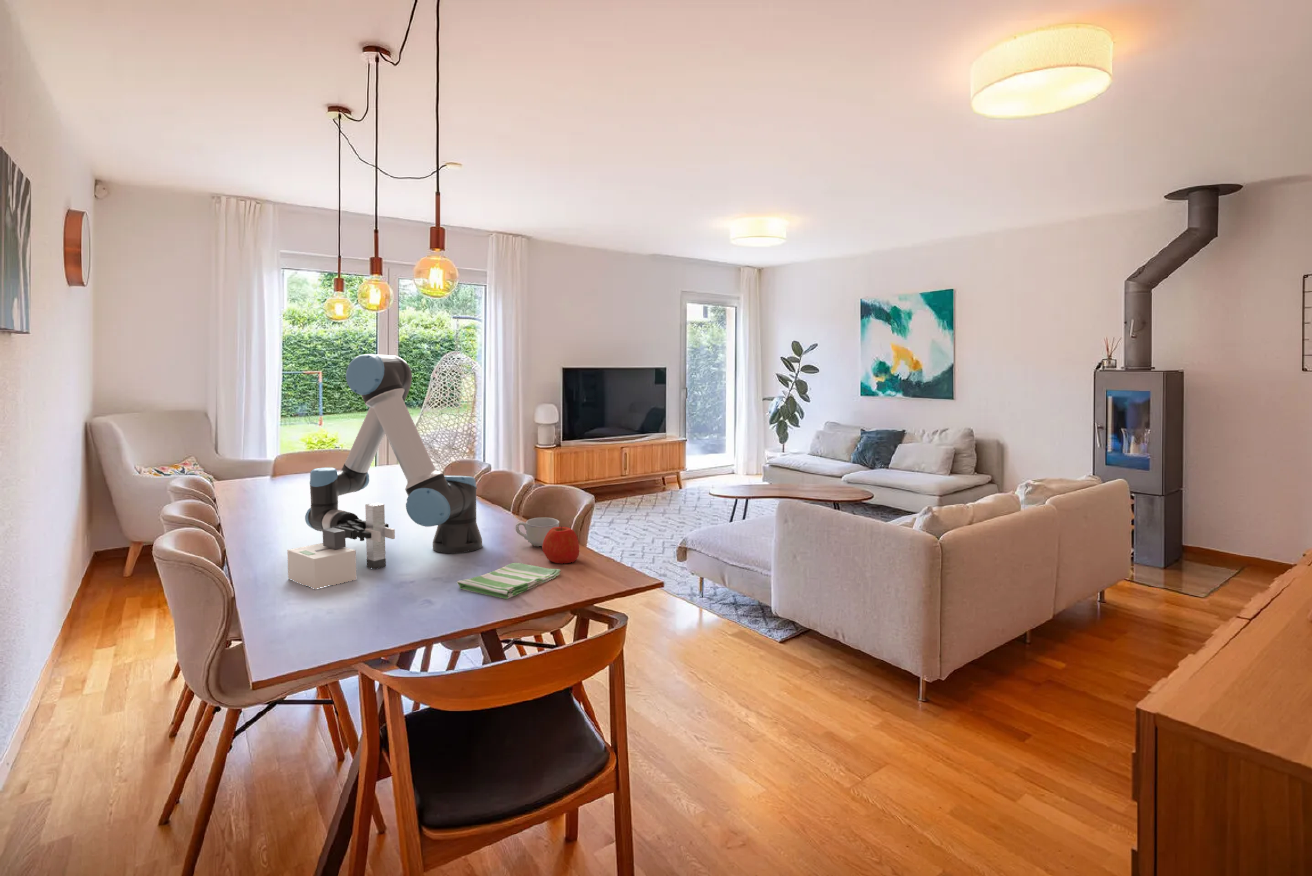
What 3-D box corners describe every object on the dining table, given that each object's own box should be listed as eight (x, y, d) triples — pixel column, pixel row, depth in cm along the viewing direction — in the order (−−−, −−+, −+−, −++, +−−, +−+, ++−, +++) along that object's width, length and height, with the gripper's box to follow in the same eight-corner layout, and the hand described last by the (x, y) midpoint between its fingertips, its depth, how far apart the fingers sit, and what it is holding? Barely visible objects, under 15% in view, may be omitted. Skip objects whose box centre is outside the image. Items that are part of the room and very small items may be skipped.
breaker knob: (333, 543, 185) (333, 527, 184) (345, 547, 181) (345, 530, 181) (323, 545, 182) (322, 529, 182) (334, 549, 179) (334, 532, 178)
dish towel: (562, 577, 187) (562, 567, 187) (509, 601, 166) (509, 591, 166) (511, 568, 195) (511, 558, 195) (453, 590, 174) (453, 580, 174)
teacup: (562, 541, 224) (562, 518, 224) (554, 550, 214) (554, 525, 213) (521, 540, 226) (521, 516, 225) (511, 548, 215) (511, 523, 214)
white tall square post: (378, 564, 195) (377, 502, 193) (385, 566, 193) (384, 504, 191) (366, 567, 192) (365, 504, 190) (373, 569, 190) (372, 506, 188)
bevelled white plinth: (328, 570, 188) (328, 541, 188) (356, 579, 180) (355, 550, 179) (288, 579, 179) (287, 549, 179) (315, 589, 171) (314, 558, 170)
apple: (535, 563, 199) (535, 527, 198) (557, 554, 208) (557, 520, 207) (565, 568, 194) (565, 532, 193) (586, 559, 203) (586, 524, 202)
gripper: (368, 531, 209) (413, 543, 195) (314, 541, 195) (358, 554, 182) (367, 507, 208) (412, 517, 194) (313, 515, 195) (357, 527, 181)
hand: (386, 535), depth 188 cm, fingers closed on white tall square post, 4 cm apart
